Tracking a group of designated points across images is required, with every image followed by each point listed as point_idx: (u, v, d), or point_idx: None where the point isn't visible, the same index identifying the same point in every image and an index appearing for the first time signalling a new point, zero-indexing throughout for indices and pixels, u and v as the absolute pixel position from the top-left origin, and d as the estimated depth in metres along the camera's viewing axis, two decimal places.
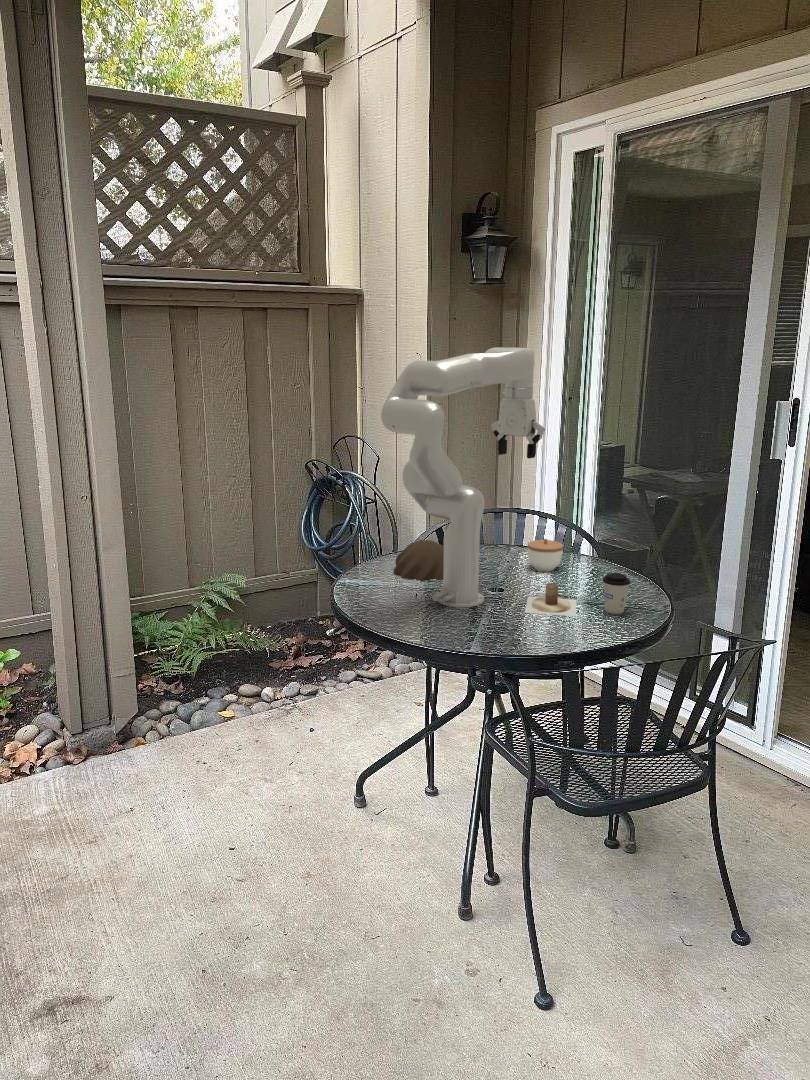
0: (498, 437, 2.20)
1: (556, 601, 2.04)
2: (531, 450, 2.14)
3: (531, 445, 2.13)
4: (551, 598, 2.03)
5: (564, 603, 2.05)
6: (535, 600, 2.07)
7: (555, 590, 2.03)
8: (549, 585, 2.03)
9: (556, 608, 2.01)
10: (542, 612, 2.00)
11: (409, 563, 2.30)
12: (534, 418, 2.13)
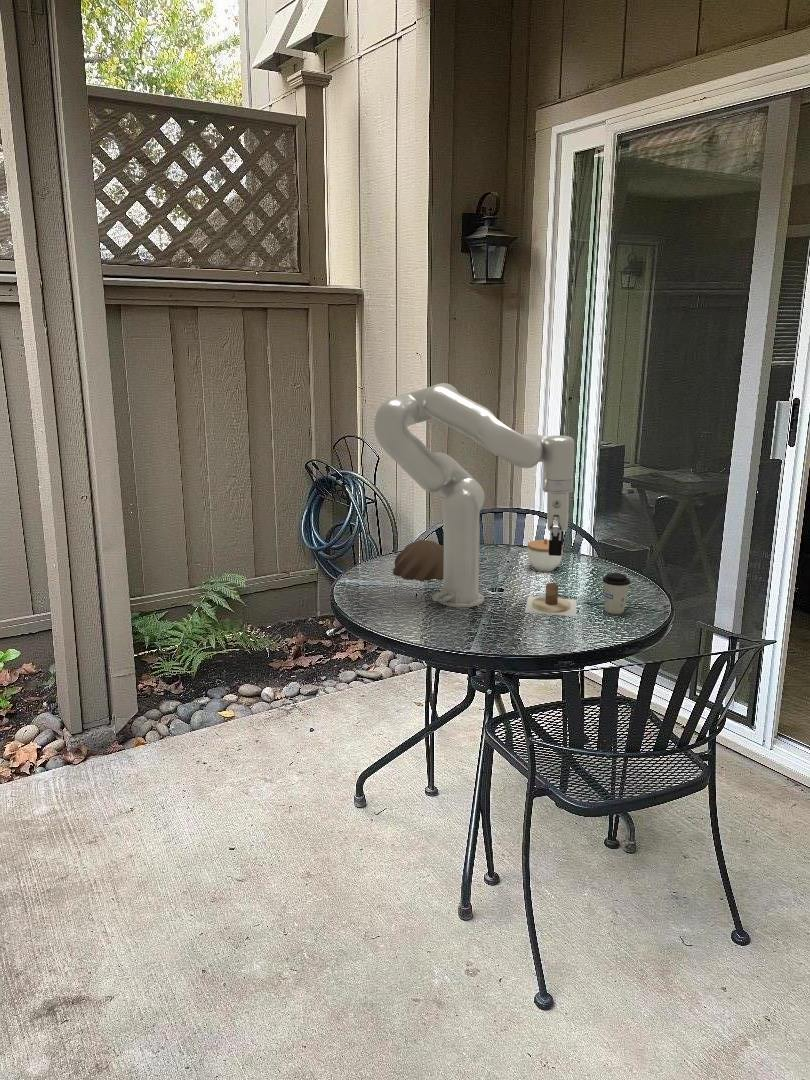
0: (560, 537, 1.95)
1: (556, 601, 2.04)
2: None
3: None
4: (551, 598, 2.03)
5: (564, 603, 2.05)
6: (535, 600, 2.07)
7: (555, 590, 2.03)
8: (549, 585, 2.03)
9: (556, 608, 2.01)
10: (542, 612, 2.00)
11: (409, 563, 2.30)
12: None
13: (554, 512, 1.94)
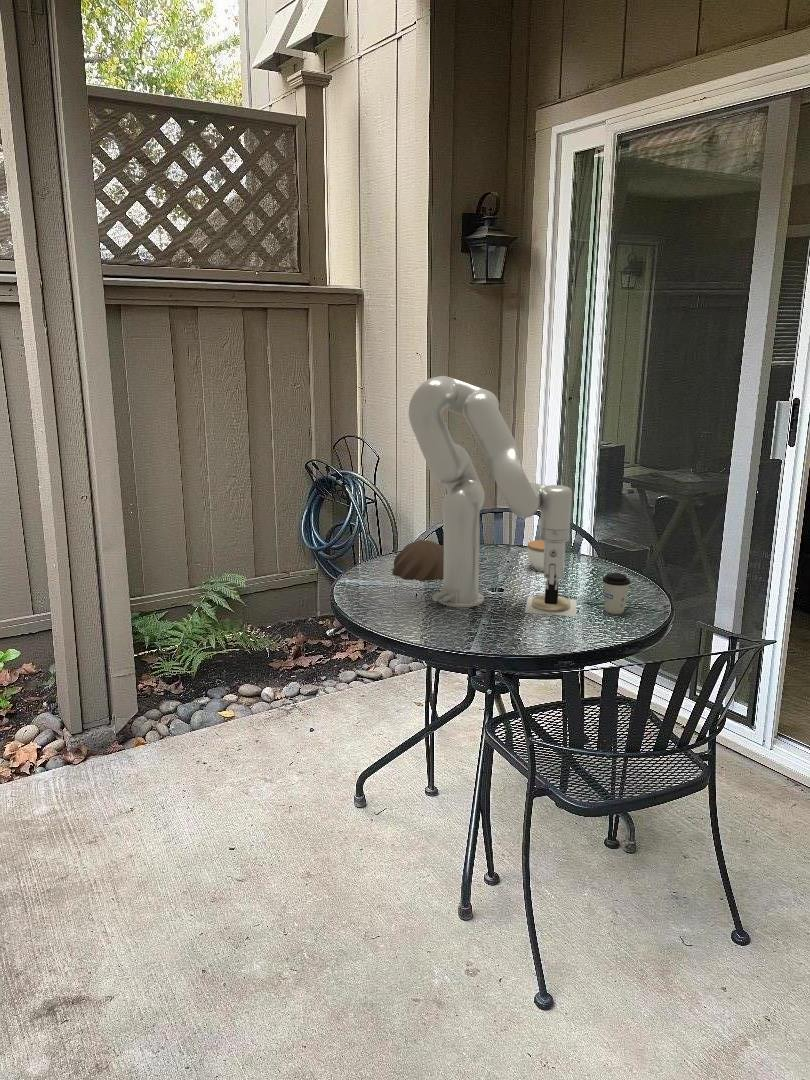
0: (556, 587, 2.01)
1: None
2: None
3: None
4: None
5: (564, 601, 2.05)
6: (535, 598, 2.07)
7: None
8: None
9: (556, 606, 2.01)
10: (542, 612, 2.00)
11: (409, 563, 2.30)
12: None
13: (551, 561, 1.97)
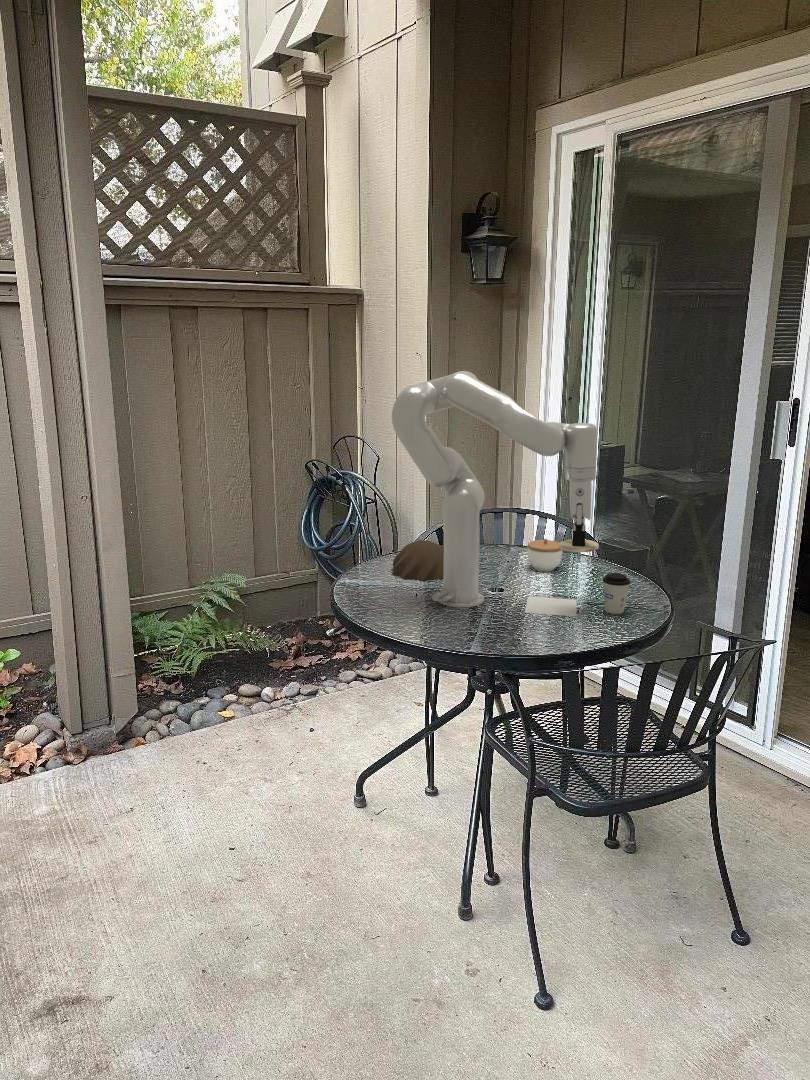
0: None
1: None
2: None
3: None
4: None
5: (592, 543, 1.99)
6: (562, 542, 2.02)
7: None
8: None
9: (584, 548, 1.95)
10: (542, 612, 2.00)
11: (409, 563, 2.30)
12: None
13: (577, 500, 1.92)
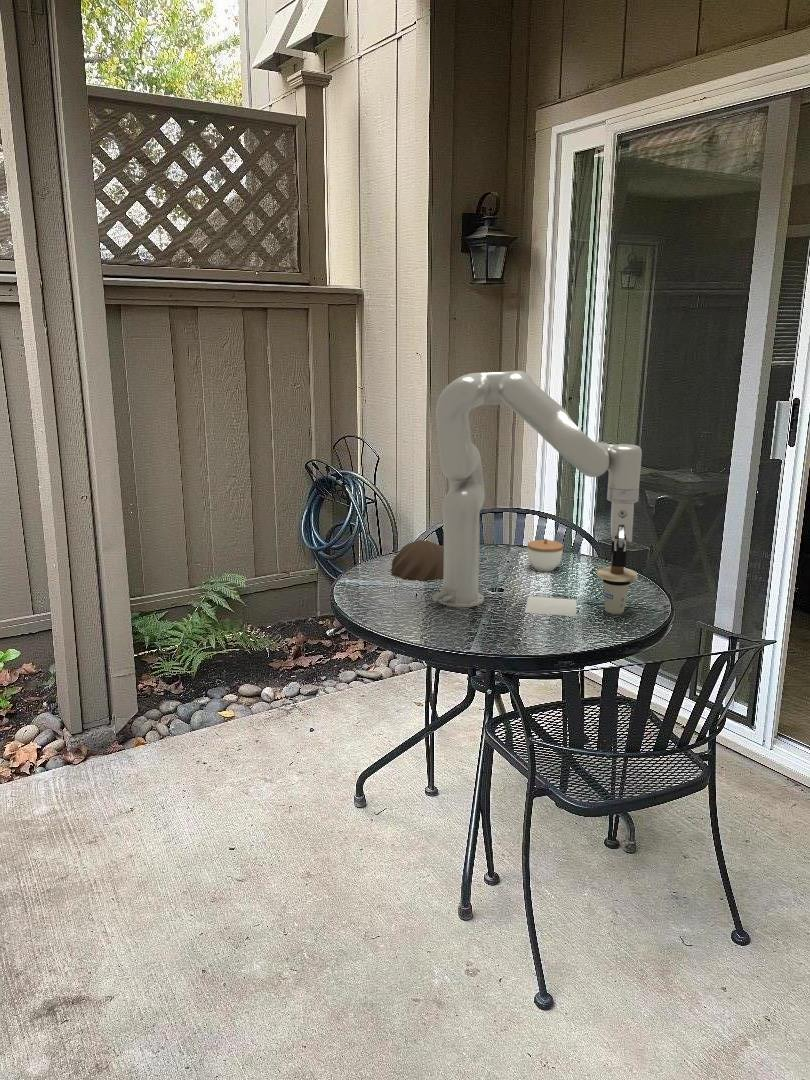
0: None
1: (622, 570, 1.98)
2: None
3: None
4: (618, 568, 1.97)
5: (630, 572, 1.99)
6: (600, 570, 2.01)
7: None
8: None
9: (624, 577, 1.95)
10: (542, 612, 2.00)
11: (409, 564, 2.29)
12: None
13: (620, 522, 1.91)
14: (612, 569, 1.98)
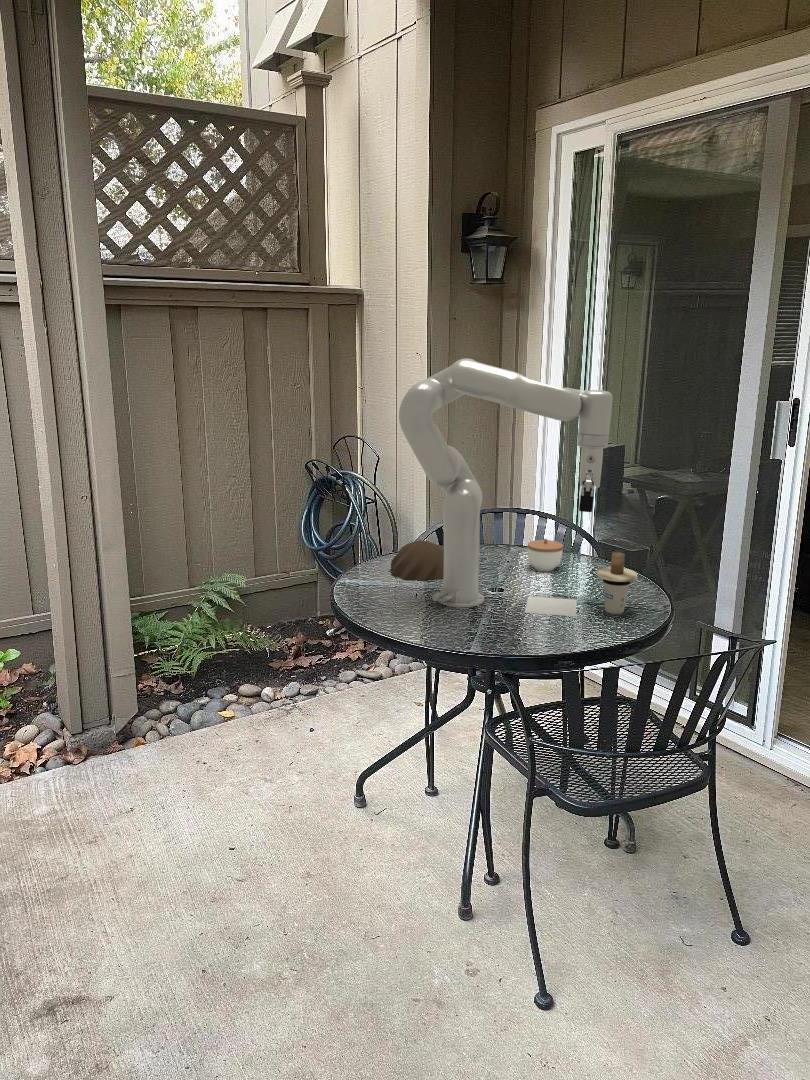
0: (592, 493, 1.92)
1: (622, 570, 1.98)
2: None
3: None
4: (618, 568, 1.97)
5: (630, 572, 1.99)
6: (599, 570, 2.01)
7: (622, 559, 1.97)
8: (615, 554, 1.97)
9: (624, 577, 1.95)
10: (542, 612, 2.00)
11: (409, 564, 2.29)
12: None
13: (588, 467, 1.91)
14: (612, 569, 1.98)
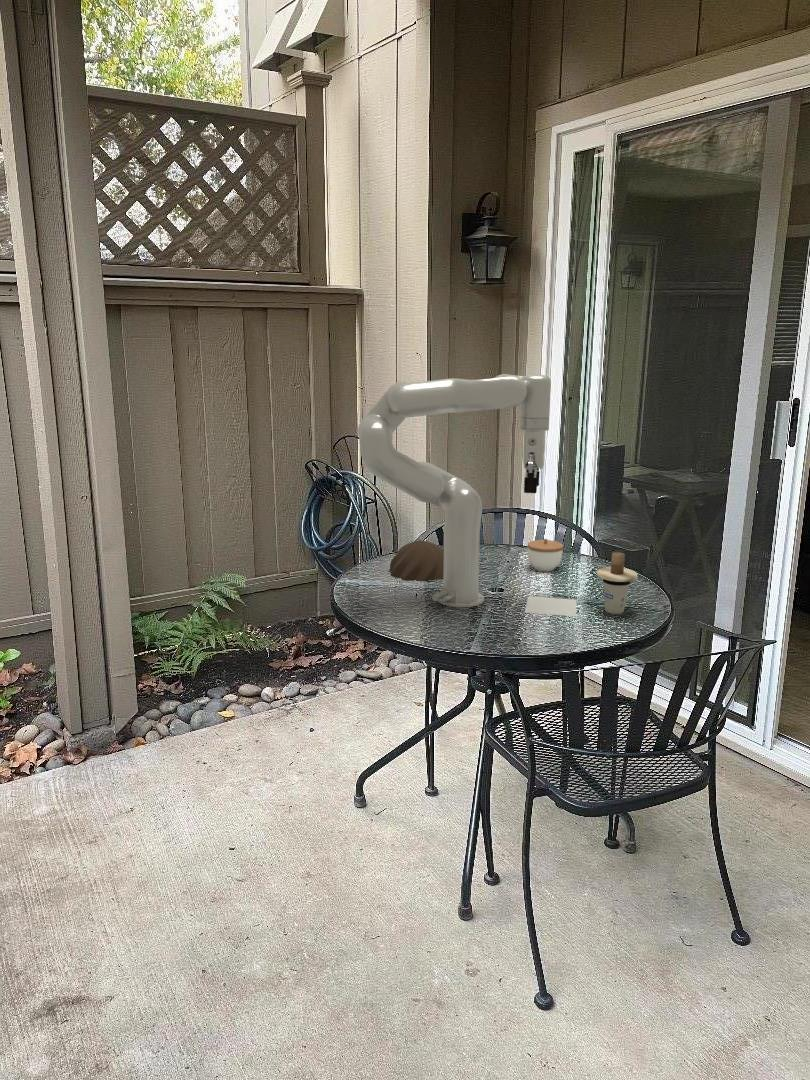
0: (535, 474, 1.98)
1: (622, 570, 1.98)
2: (536, 478, 2.09)
3: None
4: (618, 568, 1.97)
5: (630, 572, 1.99)
6: (600, 570, 2.01)
7: (622, 559, 1.97)
8: (615, 554, 1.97)
9: (624, 577, 1.95)
10: (542, 612, 2.00)
11: (409, 564, 2.29)
12: None
13: (530, 450, 1.98)
14: (612, 569, 1.98)
